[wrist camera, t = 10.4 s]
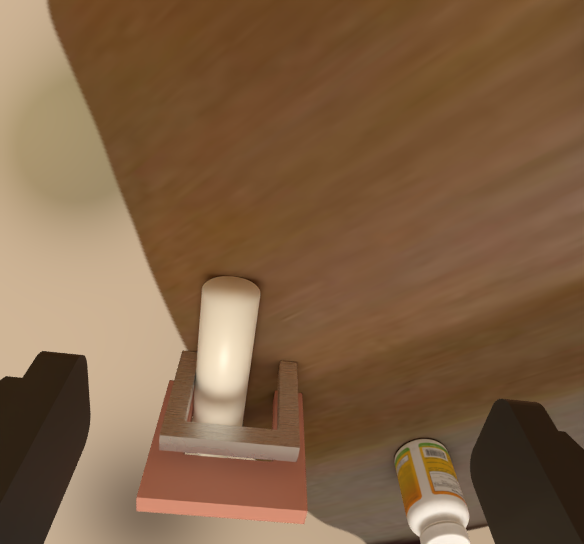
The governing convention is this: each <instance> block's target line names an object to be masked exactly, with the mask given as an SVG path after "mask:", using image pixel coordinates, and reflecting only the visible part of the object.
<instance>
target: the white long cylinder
mask: <svg viewBox="0 0 584 544" xmlns="http://www.w3.org/2000/svg"><path fill="white" fill-rule="evenodd" d="M259 301H260V290H259V288H258V287H257V286H256V285H255V284H254V283H252V282H251V281H249V280H246V279H244V278H240V277H235V276H221V277H216V278H212V279H210V280H208V281H207V282H206V283H205V284H204V285H203V287H202V298H201V311H200V325H199V338H198V352H197V365H196V379H195V392H194V406H193V418H192V421H191V422H197V423H208V424H219V425H229V426H240V427H243V417H244V409H245V402H246V395H247V388H248V381H249V373H250V366H251V359H252V352H253V345H254V337H255V330H256V323H257V316H258V309H259ZM197 454H198V455H200V456H208V457H219V458H228V457H230V456H222V455H210V454H199V453H197Z"/></svg>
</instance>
